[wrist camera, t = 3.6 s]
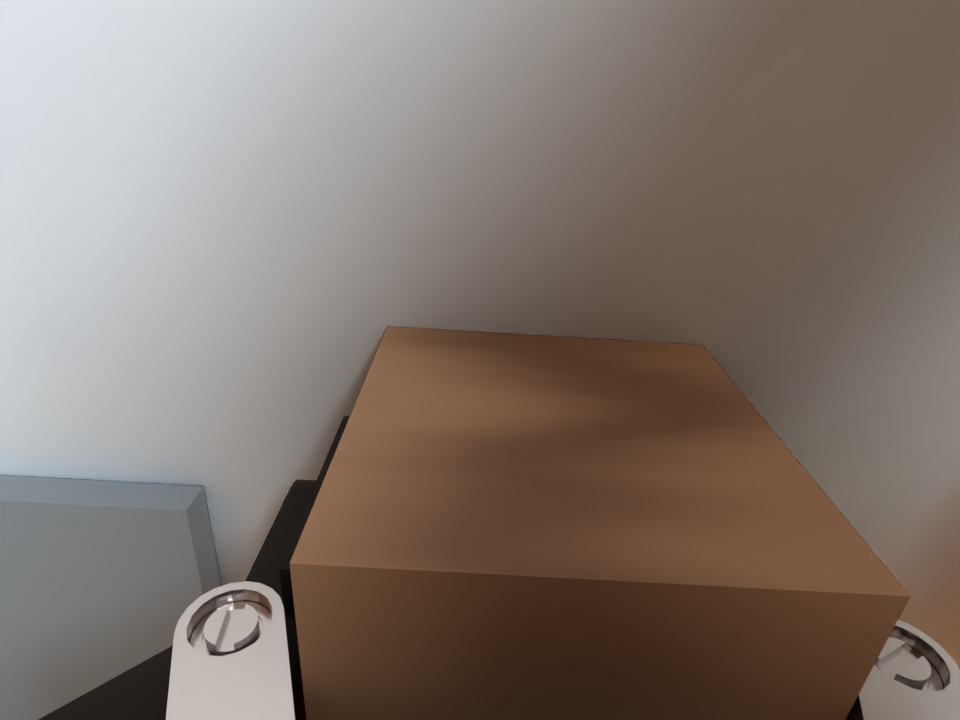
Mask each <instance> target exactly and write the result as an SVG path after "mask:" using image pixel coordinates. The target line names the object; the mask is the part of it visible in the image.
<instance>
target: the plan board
mask: <svg viewBox="0 0 960 720" xmlns="http://www.w3.org/2000/svg"><path fill="white" fill-rule="evenodd" d="M220 586H221V580H220V575H219V569H218V564H217V558H216V553H215V547H214V541H213V536H212V530H211V525H210V519H209V514H208V508H207V503H206V497H205V491H204V486H193V485H175V484H156V483H138V482H120V481H102V480H84V479H66V478H47V477H29V476H11V475H0V720H38V719H40V718H42V717H44V716H46V715H47V714H49V713H51V712H53V711H55V710H56V709H58V708H60V707H62V706H64V705H65V704H67V703H69V702H71V701H73V700H75V699H76V698H78V697H80V696H82V695H84V694H85V693H87V692H89V691H91V690H93V689H94V688H96V687H98V686H100V685H102V684H104V683H105V682H107V681H109V680H111V679H113V678H114V677H116V676H118V675H120V674H122V673H124V672H125V671H127V670H129V669H131V668H133V667H134V666H136V665H138V664H140V663H142V662H143V661H145V660H147V659H149V658H151V657H153V656H154V655H156V654H158V653H160V652H162V651H163V650H165V649H167V648H169V647H171V646H172V645H173V639H174V633H175V629H176V626H177V623H178V620H179V619H180V617H181V616H182V614H183V613H184V611H185V610H186V608H187V607H188V606H190V605H191V604H192V603H193V602H194V601H195V600H196V599H198V598H199V597H200V596H202V595H203V594H205V593H207V592H209V591H211V590H212V589H214V588H217V587H220Z"/></svg>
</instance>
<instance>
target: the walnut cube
mask: <svg viewBox="0 0 960 720" xmlns="http://www.w3.org/2000/svg"><path fill="white" fill-rule="evenodd" d="M290 572H291V581H292V591H293V600H294V609H295V619H296V628H297V637H298V646H299V656H300V665H301V674H302V683H303V693H304V702H305V711H306V720H846V718H847V716H848V714H849V712H850V710H851V708H852V706H853V704H854V702H855V700H856V699H857V697H858V695H859V693H860V691H861V689H862V687H863V685H864V683H865V681H866V680H867V678H868V676H869V674H870V672H871V670H872V668H873V666H874V664H875V662H876V660H877V659H878V657H879V655H880V653H881V651H882V649H883V647H884V645H885V643H886V641H887V640H888V638H889V636H890V634H891V632H892V630H893V628H894V626H895V624H896V622H897V620H898V619H899V617H900V615H901V613H902V611H903V609H904V607H905V605H906V603H907V601H908V600H909V598H910V596H909V594H908V593H907V592H906V591H905V590H904V588H903V587H902V586H901V585H900V583H899V582H898V581H897V580H896V579H895V577H894V576H893V575H892V574H891V573H890V571H889V570H888V569H887V568H886V567H885V565H884V564H883V563H882V562H881V560H880V559H879V558H878V557H877V556H876V554H875V553H874V552H873V551H872V550H871V548H870V547H869V546H868V545H867V544H866V542H865V541H864V540H863V539H862V537H861V536H860V535H859V534H858V533H857V531H856V530H855V529H854V528H853V527H852V525H851V524H850V523H849V522H848V521H847V519H846V518H845V517H844V516H843V514H842V513H841V512H840V511H839V510H838V508H837V507H836V506H835V505H834V504H833V502H832V501H831V500H830V499H829V498H828V496H827V495H826V494H825V493H824V491H823V490H822V489H821V488H820V487H819V485H818V484H817V483H816V482H815V481H814V479H813V478H812V477H811V476H810V475H809V473H808V472H807V471H806V470H805V468H804V467H803V466H802V465H801V464H800V462H799V461H798V460H797V459H796V458H795V456H794V455H793V454H792V453H791V452H790V450H789V449H788V448H787V447H786V445H785V444H784V443H783V442H782V441H781V439H780V438H779V437H778V436H777V435H776V433H775V432H774V431H773V430H772V429H771V427H770V426H769V425H768V424H767V422H766V421H765V420H764V419H763V418H762V416H761V415H760V414H759V413H758V412H757V410H756V409H755V408H754V407H753V406H752V404H751V403H750V402H749V401H748V399H747V398H746V397H745V396H744V395H743V393H742V392H741V391H740V390H739V389H738V387H737V386H736V385H735V384H734V383H733V381H732V380H731V379H730V378H729V377H728V375H727V374H726V373H725V372H724V370H723V369H722V368H721V367H720V366H719V364H718V363H717V362H716V361H715V360H714V358H713V357H712V356H711V355H710V354H709V352H708V351H707V350H706V349H705V347H704V346H703V345H695V344H678V343H662V342H645V341H628V340H612V339H595V338H578V337H562V336H545V335H529V334H512V333H495V332H479V331H462V330H445V329H429V328H412V327H396V326H387V327H386V330H385V332H384V335H383V337H382V340H381V342H380V344H379V347H378V349H377V352H376V354H375V357H374V359H373V362H372V364H371V366H370V369H369V371H368V374H367V376H366V379H365V381H364V383H363V386H362V388H361V391H360V393H359V396H358V398H357V400H356V403H355V405H354V408H353V410H352V413H351V415H350V417H349V420H348V422H347V425H346V427H345V430H344V432H343V435H342V437H341V439H340V442H339V444H338V447H337V449H336V452H335V454H334V456H333V459H332V461H331V464H330V466H329V469H328V471H327V473H326V476H325V478H324V481H323V483H322V486H321V488H320V491H319V493H318V495H317V498H316V500H315V503H314V505H313V508H312V510H311V512H310V515H309V517H308V520H307V522H306V525H305V527H304V529H303V532H302V534H301V537H300V539H299V542H298V544H297V546H296V549H295V551H294V554H293V556H292V559H291V561H290Z"/></svg>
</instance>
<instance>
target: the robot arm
mask: <svg viewBox="0 0 960 720" xmlns="http://www.w3.org/2000/svg"><path fill="white" fill-rule="evenodd" d="M349 417H350V416H344V418H343V420H342V422H341V425H340V427H339V429H338V432H337V434H336V436H335V439H334V441H333V443H332V446H331V448H330V450H329V453H328V455H327V457H326V460H325V462H324V464H323V467H322V469H321V471H320V474H319V476H318V478H317V481H313V480H296V481H295V482H294V483H293V485H292V486H291V488H290V490H289V492H288V494H287V496H286V498H285V500H284V503H283V505H282V507H281V509H280V511H279V513H278V515H277V517H276V519H275V521H274V523H273V525H272V527H271V529H270V531H269V534H268V536H267V538H266V540H265V542H264V544H263V546H262V548H261V550H260V552H259V554H258V556H257V558H256V560H255V562H254V564H253V567H252V569H251V571H250V573H249V575H248V577H247V579H246V581H244V582H235V583H229V584H226V585H223V586H220V587H217V588H214V589H212V590H211V591H209V592H207V593H205V594H203V595H202V596H200V597H199V598H198V599H196V600H195V601H194V602H193V603H192V604H191V605H190V606H188V607H187V608H186V610H185V611H184V613H183V614H182V616H181V617H180V619H179V620H178V623H177V626H176V629H175V633H174V639H173V645H172V646H171V647H169V648H167V649H165V650H163V651H162V652H160V653H158V654H156V655H154V656H153V657H151V658H149V659H147V660H145V661H143V662H142V663H140V664H138V665H136V666H134V667H133V668H131V669H129V670H127V671H125V672H124V673H122V674H120V675H118V676H116V677H114V678H113V679H111V680H109V681H107V682H105V683H104V684H102V685H100V686H98V687H96V688H94V689H93V690H91V691H89V692H87V693H85V694H84V695H82V696H80V697H78V698H76V699H75V700H73V701H71V702H69V703H67V704H65V705H64V706H62V707H60V708H58V709H56V710H55V711H53V712H51V713H49V714H47V715H46V716H44V717H42V718H40V719H38V720H306V711H305V702H304V693H303V683H302V674H301V665H300V656H299V646H298V637H297V628H296V619H295V609H294V600H293V591H292V581H291V572H290V561H291V559H292V556H293V554H294V551H295V549H296V546H297V544H298V542H299V539H300V537H301V534H302V532H303V529H304V527H305V525H306V522H307V520H308V517H309V515H310V512H311V510H312V508H313V505H314V503H315V500H316V498H317V495H318V493H319V491H320V488H321V486H322V483H323V481H324V478H325V476H326V473H327V471H328V469H329V466H330V464H331V461H332V459H333V456H334V454H335V452H336V449H337V447H338V444H339V442H340V439H341V437H342V435H343V432H344V430H345V427H346V425H347V422H348V420H349ZM846 720H960V669H959V668H958V666H957V664H956V662H955V661H954V659H953V658H952V657H951V656H950V655H949V654H948V653H947V652H946V651H945V649H944V648H943V647H942V646H941V645H939V644H938V643H937V642H936V641H934V640H933V639H932V638H930V637H929V636H928V635H927V634H925V633H923V632H922V631H920V630H918V629H917V628H915V627H913V626H911V625H910V624H907V623H905V622H902V621H900V620H897V622H896V624H895V626H894V628H893V630H892V632H891V634H890V636H889V638H888V640H887V641H886V643H885V645H884V647H883V649H882V651H881V653H880V655H879V657H878V659H877V660H876V662H875V664H874V666H873V668H872V670H871V672H870V674H869V676H868V678H867V680H866V681H865V683H864V685H863V687H862V689H861V691H860V693H859V695H858V697H857V699H856V700H855V702H854V704H853V706H852V708H851V710H850V712H849V714H848V716H847V718H846Z"/></svg>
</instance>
